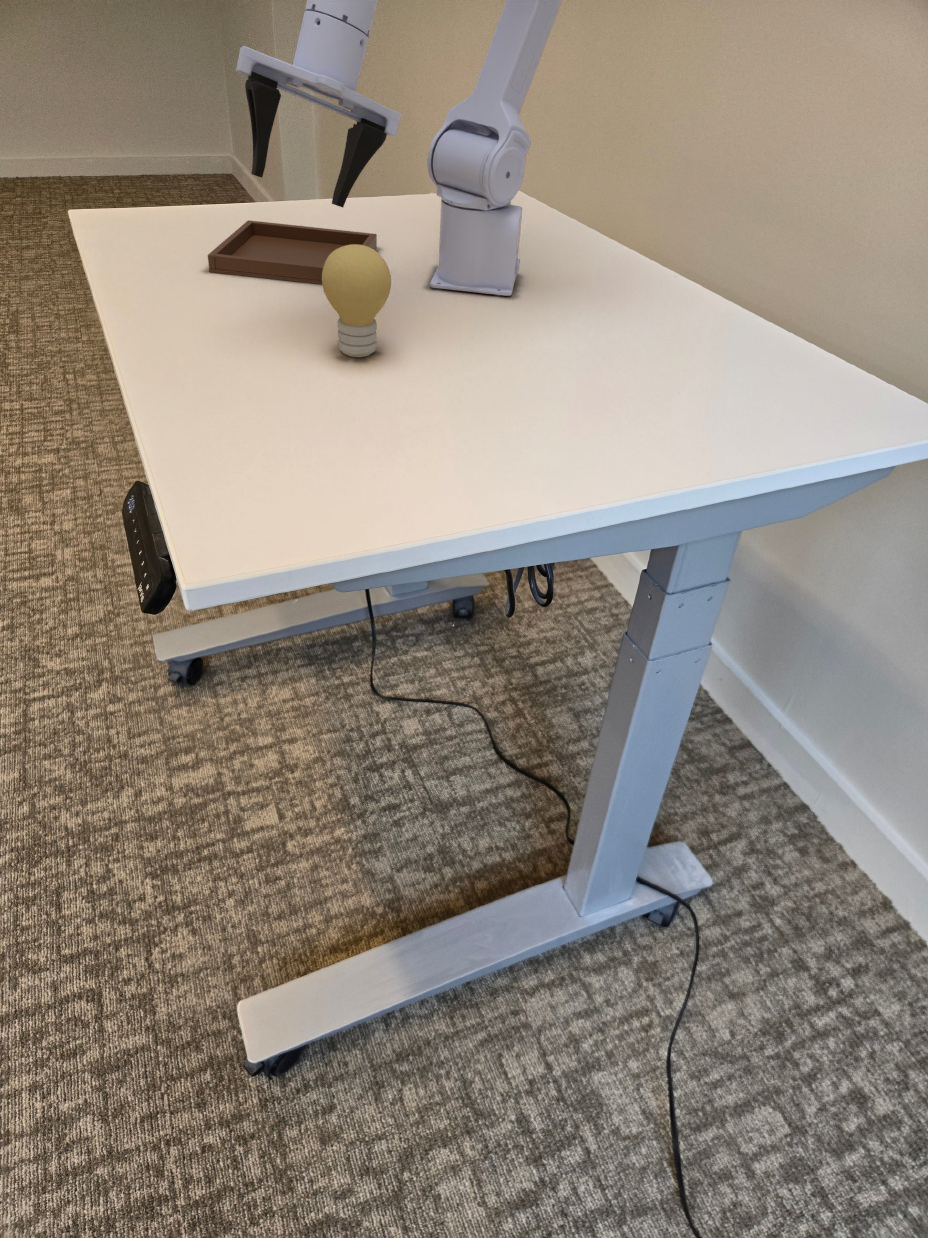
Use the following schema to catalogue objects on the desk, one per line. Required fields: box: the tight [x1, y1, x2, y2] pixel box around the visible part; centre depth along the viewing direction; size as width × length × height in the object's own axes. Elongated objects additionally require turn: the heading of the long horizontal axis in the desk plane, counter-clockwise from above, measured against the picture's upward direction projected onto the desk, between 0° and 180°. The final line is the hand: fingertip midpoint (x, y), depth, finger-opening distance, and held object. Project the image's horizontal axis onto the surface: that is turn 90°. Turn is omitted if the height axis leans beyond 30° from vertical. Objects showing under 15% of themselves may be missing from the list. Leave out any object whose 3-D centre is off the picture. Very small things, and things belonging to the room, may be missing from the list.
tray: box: [207, 220, 378, 285], centre depth 104 cm, size 17×15×2 cm
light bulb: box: [321, 244, 392, 358], centre depth 82 cm, size 6×6×10 cm
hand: (297, 191), depth 80 cm, fingers open, 7 cm apart
